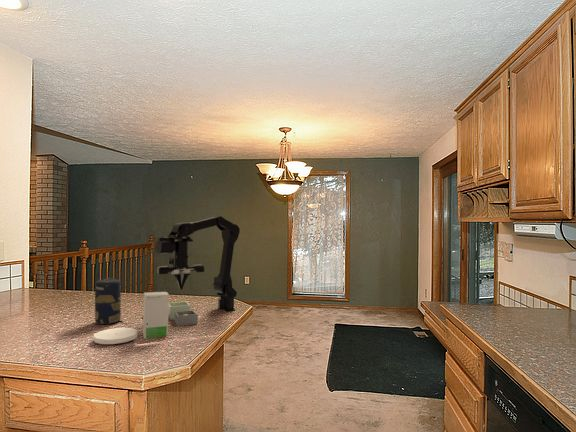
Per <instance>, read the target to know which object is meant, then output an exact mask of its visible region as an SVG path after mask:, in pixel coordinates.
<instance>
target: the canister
mask: <svg viewBox="0 0 576 432" xmlns="http://www.w3.org/2000/svg"><path fill="white" fill-rule="evenodd" d="M121 283H122V282H121V280H119V279H117V278H111V277H107V278H105V279H99V280H97V281H96V282H95V283H94V284H95V285H94V298H95V299H94V320H95V323H97V324H101V325H102V324H103V325H104V324H105V325H107V324H113V323H114V324H115V323H117V322H120V320H121V315H122V312H121V308H122V298H121V296H122V295H121V294H122V291H121V290H122V289H121V287H122V286H121Z"/></svg>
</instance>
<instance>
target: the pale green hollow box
mask: <svg viewBox="0 0 576 432" xmlns="http://www.w3.org/2000/svg"><path fill="white" fill-rule="evenodd" d="M190 310H191V305H190V303H189V302H188V301H187V300H186V301H175V302H174V301H172V302H169V311H168V317H169V321H171V320H175V312H179V311H190Z"/></svg>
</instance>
